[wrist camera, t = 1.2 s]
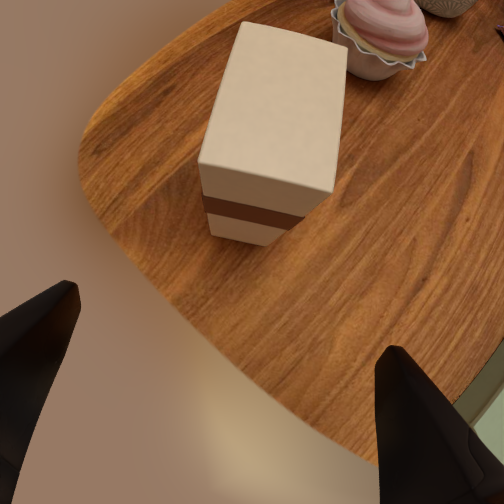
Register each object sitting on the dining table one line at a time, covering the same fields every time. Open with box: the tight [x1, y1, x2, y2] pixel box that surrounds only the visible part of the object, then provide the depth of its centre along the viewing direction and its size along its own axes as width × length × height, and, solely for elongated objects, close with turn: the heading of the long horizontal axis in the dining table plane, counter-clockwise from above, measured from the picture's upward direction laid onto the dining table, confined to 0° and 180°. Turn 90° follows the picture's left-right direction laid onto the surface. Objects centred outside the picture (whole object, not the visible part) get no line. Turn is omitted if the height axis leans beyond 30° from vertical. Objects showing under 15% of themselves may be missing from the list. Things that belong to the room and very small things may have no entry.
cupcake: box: [331, 0, 429, 81], centre depth 21 cm, size 9×9×10 cm
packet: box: [198, 22, 348, 247], centre depth 16 cm, size 6×4×14 cm
